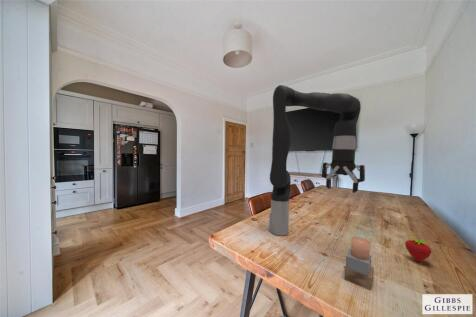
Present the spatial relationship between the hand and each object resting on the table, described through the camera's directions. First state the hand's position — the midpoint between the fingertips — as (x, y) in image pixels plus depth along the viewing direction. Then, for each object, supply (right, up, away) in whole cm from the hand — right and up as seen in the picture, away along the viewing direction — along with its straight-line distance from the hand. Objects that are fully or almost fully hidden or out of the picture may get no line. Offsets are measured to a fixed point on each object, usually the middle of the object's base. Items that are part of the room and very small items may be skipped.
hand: (341, 190), depth 68 cm
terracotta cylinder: (0, -20, -10) cm, 22 cm away
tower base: (0, -28, -10) cm, 29 cm away
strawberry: (+30, -28, 0) cm, 40 cm away
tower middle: (0, -24, -10) cm, 26 cm away
